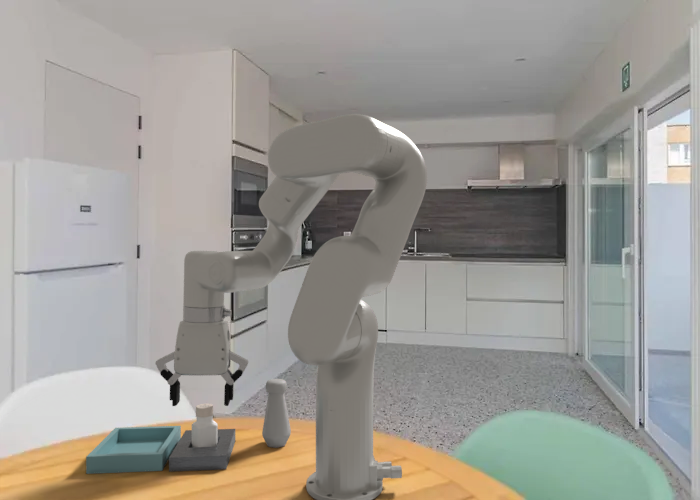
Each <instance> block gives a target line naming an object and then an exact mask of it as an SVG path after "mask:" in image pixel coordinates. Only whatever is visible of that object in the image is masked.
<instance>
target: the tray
mask: <svg viewBox="0 0 700 500" xmlns="http://www.w3.org/2000/svg"><path fill="white" fill-rule="evenodd" d="M181 430H182V426H181V425H161V426H158V425H157V426H134V427H133V426H130V427H128V426H127V427H125V426H124V427H115V428H113V430H112V431H110V432H109V433H108V434H107V436H105V438H104V439H102V440H101V441H100V442H99V444H98V445H96V446H95V448H93V449H92V450H91V451H90V452H89V453H88V455H86V457H85V460H86V461H85V466H86V467H85V468H86V469H85V471H86V473H85V474H87V475H88V474H89V475H90V474H111V473H112V474H113V473H135V472H136V473H137V472H138V473H141V472H161V471H163V470H164V468H165V467H166V465H167V464H168V463H169V457H170V455H171V454H172V452H173V450H174V449H175V447H176V445H177V444H178V442H179V440H180V439H181V437H182V434H181V433H182V431H181Z"/></svg>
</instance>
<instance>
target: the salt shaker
mask: <svg viewBox="0 0 700 500" xmlns="http://www.w3.org/2000/svg"><path fill="white" fill-rule="evenodd" d="M287 387H288V384H287V381H286V380H285V379H283V378H271V379H268V380H267V381H266V383H265V392H266V393H268V396H267V400H266V406H265V412H264V414H265V415H264V418H263V419H264V420H263V425H262V431H261V432H262V438H263V439H264V441H265V444H266V445H267V447H269V448H277V449H278V448H281V447H285V446H286V444H287V442H288V440H289V439H290V436H291V425H290V424H291V423H290V418H289V413H288V406H287V401H286V398H285V392H287Z"/></svg>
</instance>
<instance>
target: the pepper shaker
mask: <svg viewBox="0 0 700 500" xmlns="http://www.w3.org/2000/svg"><path fill="white" fill-rule="evenodd" d="M195 417H196V419H195V420H196V421H194V422H193V423H191V430H192V448H194V447H216V446H217V444H218V429H219V427H218V422H216V421H215V420H214V405H213V403H200V404H197V405H196V406H195Z"/></svg>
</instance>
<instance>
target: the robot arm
mask: <svg viewBox="0 0 700 500" xmlns="http://www.w3.org/2000/svg"><path fill="white" fill-rule="evenodd" d="M267 161H268V166H269V169H270V171H271V172H272V173H273V174H274V175H275V178H274V179H273V180H272V182H271V183H270V185H269V186H268V187H267V188H266V189H265V191H264V192H263V194H262V195H261V196H260V197H259V201H258V207H259V210H260V212H261V214H262V215H263V217H264V218H265V219H266V220H267V221H268V227H267V230H266V232H265V233H264V235H263V237H262V238H261V239H260V241H259V242H258V243H257V245H256V246H255V247H254V248H253V250H233V251H232V250H230V251H229V250H228V251H217V250H216V251H214V250H192V251H191V250H190V251H189V252H187V253H186V254H185V255H184V260H183V261H184V263H183V306H182V307H183V309H182V310H183V312H182V320H181V321H180V322H179V324H178V328H177V334H176V339H175V346H174V347H175V349H174V351H173V352H171V353H169V354H166V355H164V356H163V357H160V358H159V359H157V360H156V361H155V365H156V368H157V370H158V371H159V373H160V376H161V377H162V378H163V379H164V380H165V381H167V385H169V401H172V402H171V403H172V404H171V405H172V407H176V406H177V405H178V404H179V403H180V401H181V399H180V398H181V381H179V379H180V377H181V376H221V377H222V379H223V380H224V381H225V385H224V395H223V396H224V397H223V401H224V403H223V405H224V406H226V407H228V406H229V404H230V402H231V401H233V400H234V383H236V382H237V381H238V380H239V378H241V377H242V376H243V374H244V372H245V370H246V369H247V366H248V365H249V360H248V359H246V358H245V357H243V356H241V355H239V354H237V353H235V352H233V351H231V336H230V335H231V334H230V327H229V323H228V321H226V320H225V318H228V317H232V309H228V308H226V306H225V293H227V294H228V293H229V294H230V293H238V292H239V293H240V292H243V291H244V292H245V291H255V290H260V289H262V288H265V287H267V286H268V285H270V284H271V283H272V282H273V281H274V280H275V279H276V278H277V276H278V275H279V274H280V273H281V271H282V270H283V269H284V268H285V266H286V265H287V264H288V263H289V261H290V260H291V259H292V256H293V255H294V251H295V248H296V245H297V242H298V236H299V235H298V233H299V229H300V228H301V226H302V225H303V223H304V222H305V221H306V219H307V218H308V217H309V215H310V214H311V213H312V212H313V210H314V209H315V207H317V205H318V204H319V202H320V201H321V200H322V199H323V198H324V197H325V195H326V194H327V193H328V191H329V190H330V189H331V187H333V184H334V183H335V182H336V180H337V179H338V178H339V176H340V175H341V174H348V173H353V174H354V173H355V174H357V175H362V176H366V177H371V178H373V179H374V180H375V185H374V187H373V189H372V190H371V192H370V193H369V195H368V196H367V198H366V200H364V203H363V204H362V207H361V209H360V212H359V215H358V217H357V218H358V219H357V221H356V223H355V225H354V227H353V230H352V231H351V234H350V235H340V236H337V237H333V238H331V239H329V240H328V241H325V243H323V244H322V245H321V246H320V247H319V248H318V249H317V251H316V252H315V254H314V255H313V256H312V259H311V261H310V263H309V265H308V268H307V270H306V273H305V276H304V278H303V281H302V285H301V287H300V290H299V293H298V296H297V297H296V301H295V303H294V306H293V309H292V310H291V315H290V318H289V322H288V327H287V340H288V345H289V348H290V350H291V352H292V353H293V354H294V357H296V358H297V359H298V360H299V361H300V362H302V363H304V364H305V365H308V366H317V371H316V377H315V378H316V379H315V380H316V381H315V471H314V472H313V473H312V474H310V475H309V476H308V477H307V479H306V484H305V485H306V486H305V487H306V491H307V493H308V495H309V497H311V498H313V499H314V500H374V499H376V498H377V497H378V496H380V494H381V493H382V492H383V487H384V486H383V482H384V481H383V480H384V479H402V477H403V470H402V469H403V468H402V466H401V465H392V464H393V463H392V461H390V460H389V461H379V462H378V460H376V459H375V456H374V379H375V377H374V374H375V371H374V370H375V360H376V353H377V346H378V338H379V326H378V323H379V322H378V319H377V316H376V313H375V312H374V310H373V308H372V307H371V305H370V304H368V303H367V302H365V301H364V300H363V299H362V298H365V297H369V296H373V295H376V294H380V293H381V292H383V291H384V290H385V289H387V287H388V286H390V283H391V281H392V280H393V277H394V276H395V275H394V274H395V272H396V269H397V267H398V264H399V262H400V259H401V256H402V254H403V251H404V248H405V247H406V243H407V241H408V239H409V235H410V232H411V229H412V227H413V224H414V221H415V219H416V217H417V214H418V212H419V209H420V208H421V205H422V202H423V200H424V196H425V194H426V190H427V183H428V170H427V169H428V168H427V164H426V161H425V158H424V156H423V155H422V152H421V151H420V149H419V148H418V147H417V146H416V144H415V143H414V142H413V141H412V140H411V139H410V138H409V137H408V136H407V135H406V134H404V133H403V132H402V131H400V130H398V129H396V128H395V127H393V126H391V125H389V124H387V123H384V122H382V121H380V120H378V119H376V118H374V117H372V116H369V115H367V114H362V113H361V114H360V113H351V114H350V113H349V114H344V115H343V114H342V115H339V116H334V117H329V118H326V119H322V120H318V121H314V122H313V121H311V122H308V123H304V124H301V125H296V126H292V127H290V128H288V129H285V130H284V131H282V132H280V133H279V134H278V135H277V136H276V137H275V138H274V140H272V143H271V144H270V147H269V149H268V154H267ZM171 361H173V369H174V373H172V371H171V370H170V369H168V367H167V363H169V362H171ZM231 361H232V362H234V363H236V364H238V369H236V370H235V371H234V372H233V373H232V370H230V367H231Z"/></svg>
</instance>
